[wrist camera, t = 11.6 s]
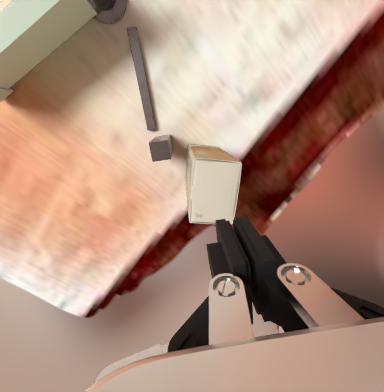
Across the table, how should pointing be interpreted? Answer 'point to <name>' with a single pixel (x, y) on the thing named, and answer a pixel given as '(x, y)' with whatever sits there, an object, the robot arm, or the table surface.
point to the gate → (35, 34)
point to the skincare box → (211, 184)
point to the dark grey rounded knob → (109, 10)
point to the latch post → (148, 102)
